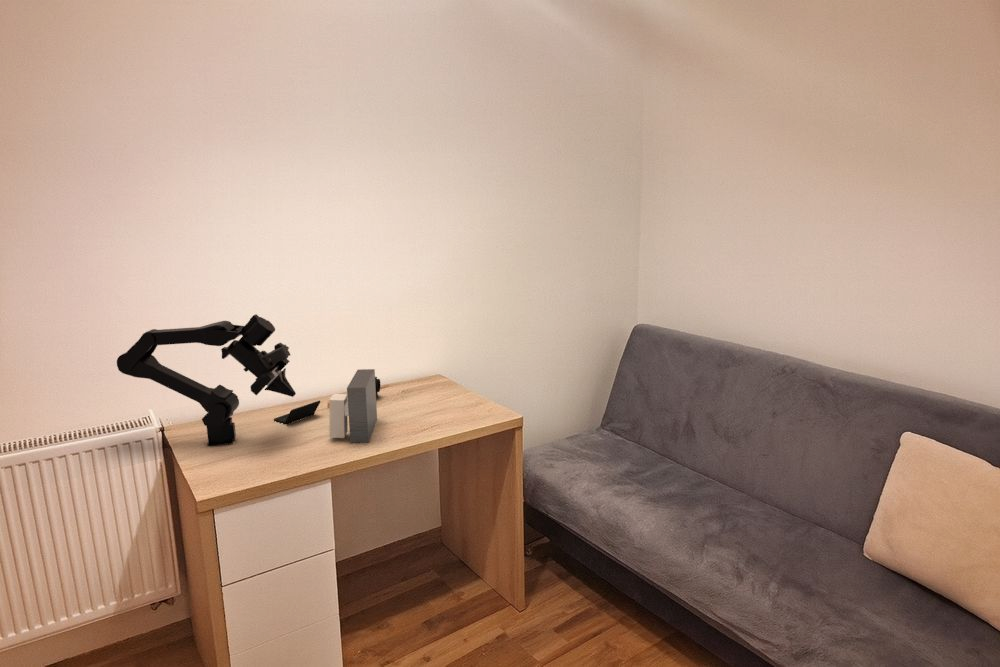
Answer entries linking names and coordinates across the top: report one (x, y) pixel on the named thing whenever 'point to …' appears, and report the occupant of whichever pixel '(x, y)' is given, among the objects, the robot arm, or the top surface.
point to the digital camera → (377, 385)
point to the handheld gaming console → (298, 413)
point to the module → (338, 416)
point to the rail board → (361, 406)
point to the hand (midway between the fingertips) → (294, 395)
